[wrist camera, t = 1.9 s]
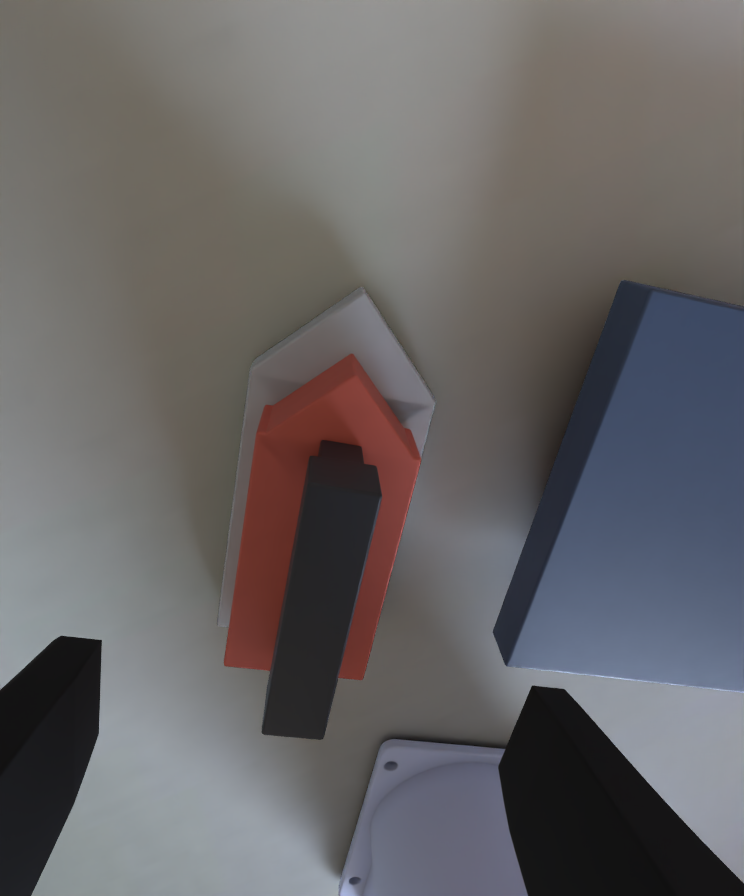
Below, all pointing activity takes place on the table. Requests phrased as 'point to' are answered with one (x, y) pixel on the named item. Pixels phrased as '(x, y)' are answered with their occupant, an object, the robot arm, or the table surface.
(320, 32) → the table surface
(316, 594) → the iron
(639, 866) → the robot arm
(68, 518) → the table surface
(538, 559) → the ironing board
